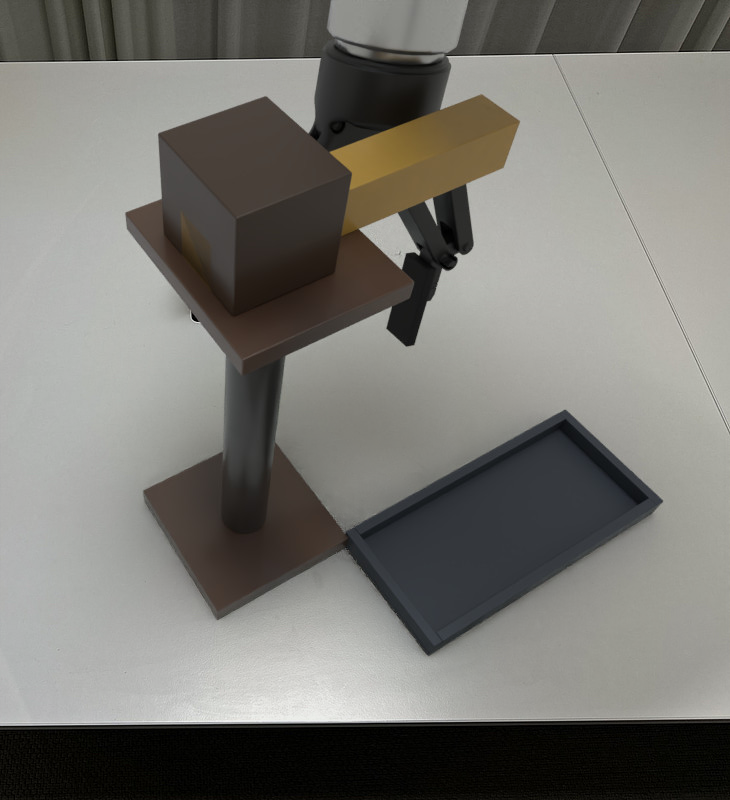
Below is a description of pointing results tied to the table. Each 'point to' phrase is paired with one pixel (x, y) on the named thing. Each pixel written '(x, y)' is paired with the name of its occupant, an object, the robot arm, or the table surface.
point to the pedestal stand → (258, 422)
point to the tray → (498, 528)
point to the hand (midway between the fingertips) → (323, 351)
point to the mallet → (306, 189)
